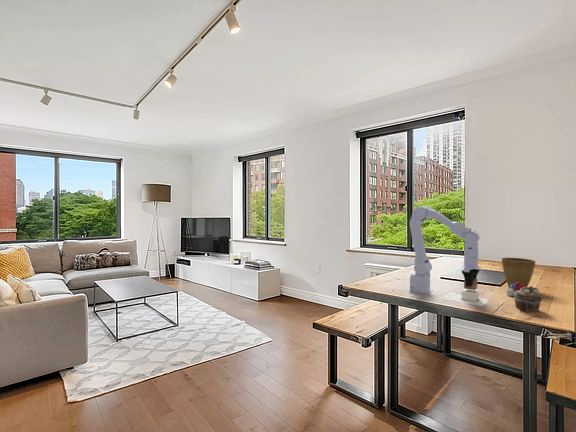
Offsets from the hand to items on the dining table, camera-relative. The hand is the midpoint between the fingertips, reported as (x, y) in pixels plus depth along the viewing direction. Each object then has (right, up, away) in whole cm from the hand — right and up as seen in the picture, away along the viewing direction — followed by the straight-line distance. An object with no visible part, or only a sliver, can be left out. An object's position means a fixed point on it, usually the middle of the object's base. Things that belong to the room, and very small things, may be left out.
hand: (470, 285), depth 157 cm
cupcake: (+17, -8, -14) cm, 23 cm away
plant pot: (+37, -7, +21) cm, 43 cm away
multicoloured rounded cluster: (+27, -7, +5) cm, 28 cm away
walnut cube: (0, -2, 0) cm, 2 cm away
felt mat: (-3, -7, 0) cm, 7 cm away
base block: (0, -7, 0) cm, 7 cm away
